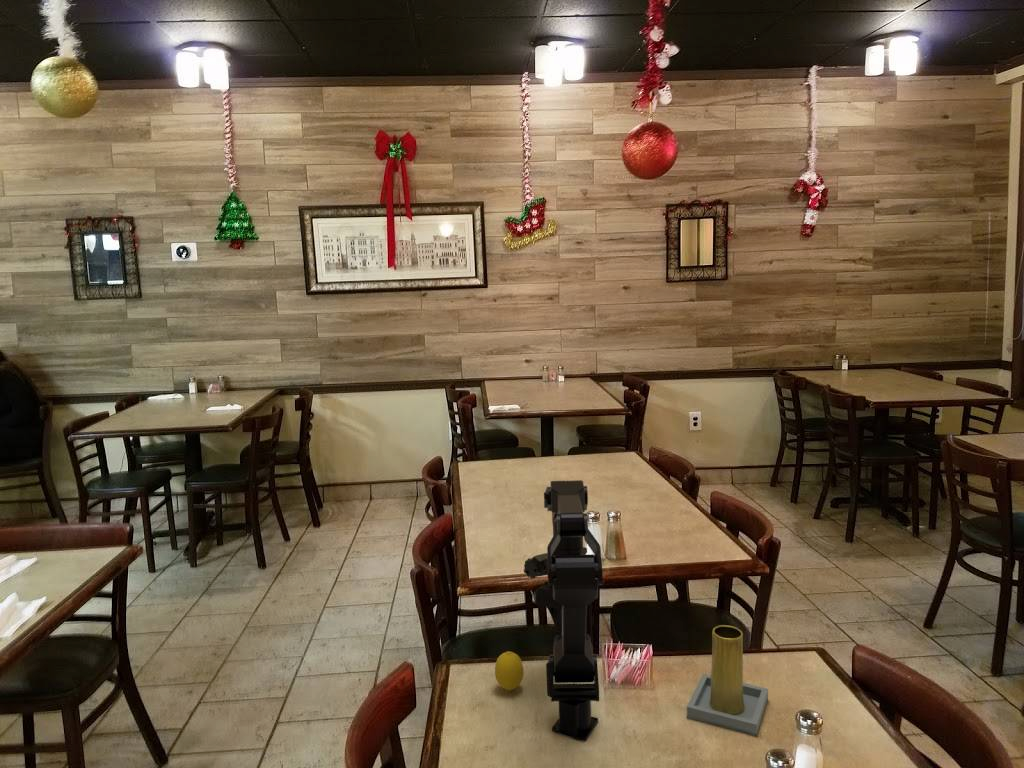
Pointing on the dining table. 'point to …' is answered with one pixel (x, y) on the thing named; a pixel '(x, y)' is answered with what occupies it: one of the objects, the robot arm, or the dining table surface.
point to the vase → (727, 670)
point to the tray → (740, 722)
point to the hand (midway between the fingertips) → (569, 621)
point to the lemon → (509, 670)
